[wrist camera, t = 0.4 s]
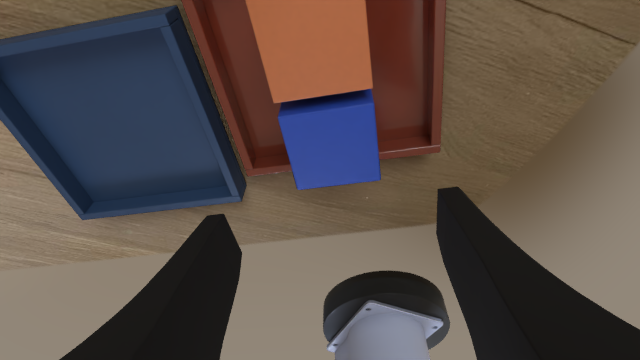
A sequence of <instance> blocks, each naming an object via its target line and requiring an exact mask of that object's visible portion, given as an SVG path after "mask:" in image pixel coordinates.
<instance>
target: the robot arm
mask: <svg viewBox="0 0 640 360" xmlns="http://www.w3.org/2000/svg"><path fill="white" fill-rule="evenodd" d="M436 234H437V238H438V242H439V246H440V250H441V255H442V258H443V262H444V265H445V268H446V270H447V273H448V276H449V278H450V281H451V283H452V286H453V289H454V292H455V294H456V297H457V299H458V302H459V305H460V307H461V310H462V313H463V315H464V318H465V321H466V323H467V326H468V329H469V332H470V335H471V338H472V342H473V346H474V350H475V353H476V357H477V360H640V330H639V329H638V328H636V327H634V326H632V325H631V324H629V323H627V322H625V321H623V320H622V319H620V318H618V317H617V316H615V315H613V314H612V313H610V312H609V311H607V310H605V309H604V308H602V307H601V306H599V305H598V304H596V303H594V302H593V301H591V300H590V299H588V298H586V297H585V296H583V295H582V294H580V293H578V292H577V291H576V290H574V289H573V288H571V287H570V286H569V285H567V284H566V283H564V282H563V281H561V280H560V279H559V278H557V277H556V276H555V275H553V274H552V273H551V272H549V271H548V270H547V269H545V268H544V267H543V266H541V265H540V264H539V263H538V262H536V261H535V260H534V259H533V258H531V257H530V256H529V255H528V254H526V253H525V252H524V251H523V250H522V249H521V248H520V247H518V246H517V245H516V244H515V243H514V242H512V241H511V240H510V239H509V238H508V237H507V236H506V235H505V234H504V233H503V232H502V231H500V229H499V228H498V227H497V226H495V225H494V224H493V223H492V222H491V221H490V220H489V219H488V218H487V217H486V216H485V215H484V214H483V213H482V212H481V211H480V210H479V209H478V207H477V206H476V205H475V204H474V203H473V202H472V201H471V200H470V199H469V198H468V197H467V196H466V194H465V193H464V192H463V191H462V190H461V189H460V188H459V187H452V188H443V189H438V201H437V231H436ZM241 257H242V252H241V249H240V247H239V245H238V243H237V241H236V239H235V237H234V234H233V232H232V230H231V228H230V226H229V224H228V222H227V220H226V217H225V215H224V214H218V215H209V216H207V217H206V218H205V219H204V220H203V221H202V222H201V223H200V224H199V226H198V227H197V228H196V229H195V230H194V232H193V233H192V234H191V235H190V236H189V238H188V239H187V240H186V241H185V242H184V244H183V245H182V246H181V247H180V248H179V249H178V251H177V252H176V253H175V254H174V255H173V256H172V258H171V259H170V260H169V261H168V262H167V263H166V264H165V266H164V267H163V268H162V269H161V270H160V271H159V272H158V273H157V274H156V275H155V276H154V277H153V278H152V279H151V280H150V282H149V283H148V284H147V285H146V286H145V287H144V288H143V289H142V290H141V291H140V292H139V293H138V294H137V295H136V296H135V297H134V298H133V299H132V300H131V301H130V302H129V303H128V304H126V305H125V306H124V307H123V309H121V310H120V311H119V312H118V313H117V314H116V315H114V316H113V317H112V318H111V319H110V320H109V321H108V322H106V323H105V324H104V325H103V326H101V327H100V328H99V329H98V330H97V331H95V332H94V333H93V334H92V335H91V336H89V337H88V338H87V339H86V340H85V341H83V342H82V343H81V344H79V345H78V346H77V347H76V348H75V349H73V350H72V351H71V352H69V353H68V354H66V355H65V356H64V357H62V358H61V359H60V360H219V359H220V353H221V349H222V344H223V340H224V336H225V332H226V328H227V324H228V321H229V316H230V313H231V309H232V305H233V301H234V297H235V293H236V289H237V285H238V281H239V275H240V267H241ZM442 326H443V321H442V320H441V319H439V318H435V317H432V316H428V315H425V314H421V313H417V312H414V311H410V310H407V309H403V308H399V307H396V306H392V305H389V304H385V303H381V302H378V301H374V300H368V301H366V302H365V303H364V304H363V305H362V307H361V308H360V309H359V310H358V311H357V312H356V313H355V314H354V315H353V317H352V318H351V319H350V320H349V321H348V322H347V323H346V324H345V326H344V327H343V328H342V329H341V330H340V331H339V332H338V333H337V334H336V336H335V337H334V338H333V339H332V340H331V341H330V342H329V343H328V344H327V350H328V351H330V352H335V360H430V356H429V351H428V347H427V342H426V339H427V338H428V337H429V336H431V335H432V334H433V333H434V332H435V331H437V330H438V329H439V328H440V327H442Z"/></svg>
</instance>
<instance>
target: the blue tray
mask: <svg viewBox="0 0 640 360" xmlns="http://www.w3.org/2000/svg"><path fill="white" fill-rule="evenodd" d="M0 120H1V121H2V122H3V123H4V125H5V126H6V127H7V128H8V130H9V131H10V132H11V133H12V134H13V136H14V137H15V138H16V139H17V141H18V142H19V143H20V144H21V146H22V147H23V148H24V149H25V150H26V152H27V153H28V154H29V155H30V157H31V158H32V159H33V160H34V162H35V163H36V164H37V165H38V166H39V168H40V169H41V170H42V171H43V173H44V174H45V175H46V176H47V178H48V179H49V180H50V181H51V182H52V184H53V185H54V186H55V187H56V189H57V190H58V191H59V192H60V194H61V195H62V196H63V197H64V198H65V200H66V201H67V202H68V203H69V205H70V206H71V207H72V208H73V210H74V211H75V212H76V213H77V214H78V216H79V217H80V218H81V219H82V220H87V219H96V218H104V217H113V216H121V215H130V214H138V213H147V212H155V211H164V210H172V209H181V208H189V207H198V206H206V205H215V204H223V203H232V202H240V201H242V199H243V195H244V192H245V189H246V183H245V180H244V177H243V175H242V172H241V170H240V167H239V165H238V162H237V159H236V157H235V154H234V152H233V149H232V146H231V144H230V141H229V139H228V136H227V134H226V131H225V128H224V126H223V123H222V121H221V118H220V115H219V113H218V110H217V108H216V105H215V103H214V100H213V97H212V95H211V92H210V90H209V87H208V84H207V82H206V79H205V77H204V74H203V72H202V69H201V66H200V64H199V61H198V59H197V56H196V53H195V51H194V48H193V46H192V43H191V40H190V38H189V35H188V33H187V30H186V28H185V25H184V22H183V20H182V17H181V15H180V12H179V9H178V7H177V6H176V5H175V6H170V7H165V8H160V9H155V10H150V11H144V12H139V13H134V14H129V15H124V16H119V17H113V18H108V19H103V20H98V21H93V22H88V23H83V24H77V25H72V26H67V27H62V28H57V29H52V30H47V31H41V32H36V33H31V34H26V35H21V36H16V37H11V38H5V39H0Z"/></svg>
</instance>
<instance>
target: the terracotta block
mask: <svg viewBox="0 0 640 360" xmlns="http://www.w3.org/2000/svg"><path fill="white" fill-rule="evenodd" d="M245 2H246V5H247V9H248V12H249V16H250V20H251V23H252V27H253V31H254V34H255V38H256V41H257V45H258V49H259V52H260V56H261V59H262V63H263V67H264V70H265V74H266V78H267V81H268V85H269V88H270V92H271V96H272V99H273V102H274V103H280V102H287V101H293V100H300V99H307V98H313V97H320V96H326V95H333V94H340V93H346V92H353V91H359V90H366V89H372V88H373V81H372V70H371V58H370V47H369V35H368V24H367V13H366V1H365V0H245Z"/></svg>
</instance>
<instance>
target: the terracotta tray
mask: <svg viewBox="0 0 640 360" xmlns="http://www.w3.org/2000/svg"><path fill="white" fill-rule="evenodd" d="M181 1H182V3H183V6H184V9H185V11H186V14H187V17H188V19H189V22H190V25H191V27H192V30H193V33H194V35H195V38H196V41H197V43H198V46H199V49H200V51H201V54H202V57H203V59H204V62H205V64H206V67H207V70H208V72H209V75H210V78H211V80H212V83H213V86H214V88H215V91H216V94H217V96H218V99H219V102H220V104H221V107H222V110H223V112H224V115H225V118H226V120H227V123H228V126H229V128H230V131H231V133H232V136H233V139H234V141H235V144H236V147H237V149H238V152H239V155H240V157H241V160H242V163H243V165H244V168H245V171H246V173H247V176H248V177H249V176H257V175H265V174H273V173H280V172H288V171H292V168H291V164H290V161H289V157H288V154H287V150H286V146H285V143H284V139H283V135H282V132H281V128H280V125H279V121H278V115H279V110H280V106H281V102H280V103H274V102H273V99H272V96H271V92H270V88H269V85H268V81H267V78H266V74H265V70H264V67H263V63H262V59H261V56H260V52H259V49H258V45H257V41H256V38H255V34H254V31H253V27H252V23H251V20H250V16H249V12H248V9H247V5H246V2H245V0H181ZM365 1H366V13H367V24H368V35H369V47H370V58H371V70H372V81H373V88H372V89H371V90H372V95H373V100H374V106H375V117H376V128H377V140H378V151H379V160H383V159H391V158H399V157H407V156H415V155H423V154H430V153H438V152H440V146H441V145H440V144H441V121H442V95H443V69H444V44H445V18H446V0H365Z"/></svg>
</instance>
